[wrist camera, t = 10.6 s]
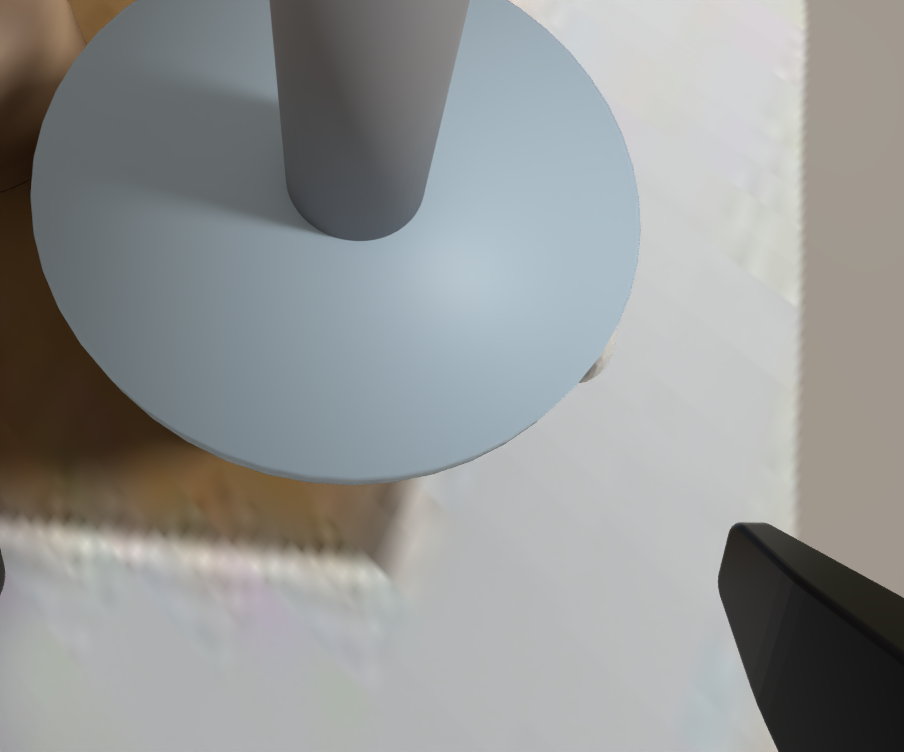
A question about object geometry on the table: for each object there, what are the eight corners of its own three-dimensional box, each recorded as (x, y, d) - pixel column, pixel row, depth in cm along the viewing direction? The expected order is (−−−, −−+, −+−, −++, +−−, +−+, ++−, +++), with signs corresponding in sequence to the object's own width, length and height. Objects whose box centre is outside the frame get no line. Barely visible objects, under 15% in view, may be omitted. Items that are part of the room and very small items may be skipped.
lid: (222, 611, 14) (59, 611, 5) (-51, 83, 16) (-467, -498, 8) (726, 312, 18) (1097, 35, 9) (446, -80, 20) (535, -590, 11)
